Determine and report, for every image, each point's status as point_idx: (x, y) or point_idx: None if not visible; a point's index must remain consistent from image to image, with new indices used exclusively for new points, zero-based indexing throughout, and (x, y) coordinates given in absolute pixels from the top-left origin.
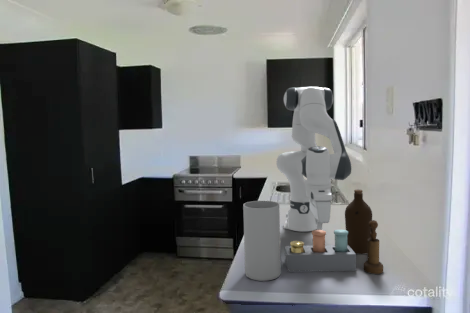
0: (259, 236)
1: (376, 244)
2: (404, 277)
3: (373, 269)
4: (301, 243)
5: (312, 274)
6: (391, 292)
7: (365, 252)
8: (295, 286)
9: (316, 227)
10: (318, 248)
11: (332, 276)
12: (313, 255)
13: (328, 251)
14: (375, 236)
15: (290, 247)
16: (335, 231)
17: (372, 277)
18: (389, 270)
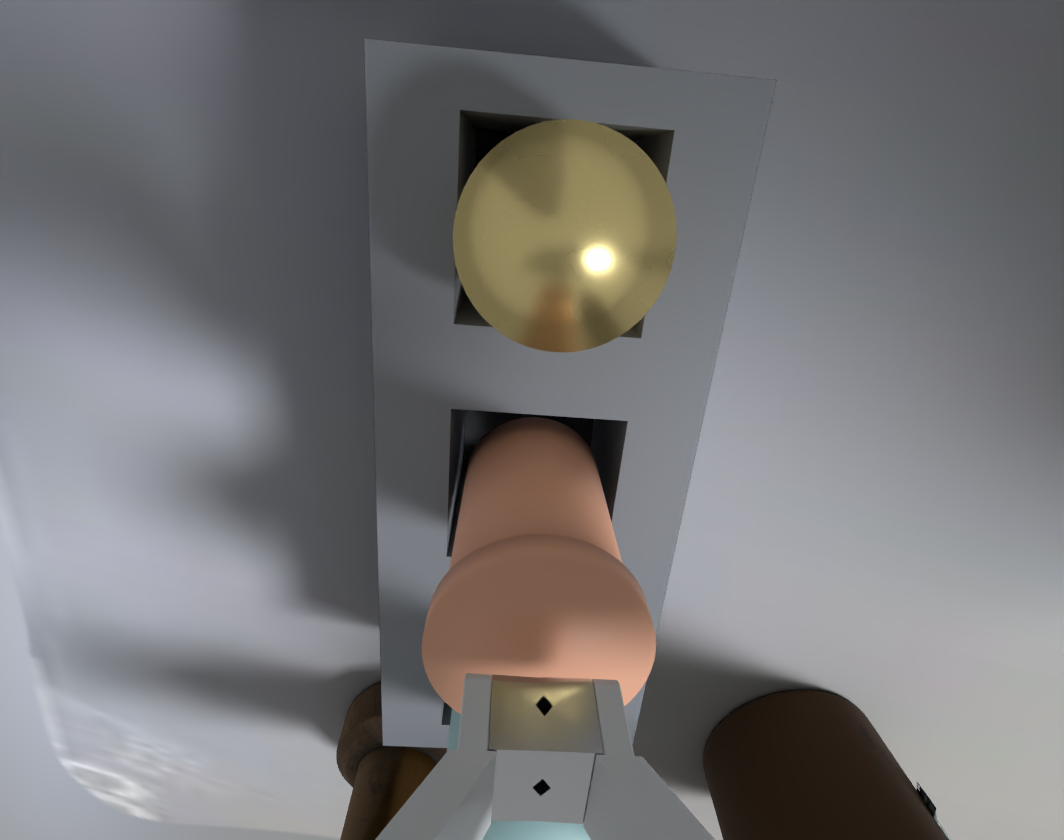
0: None
1: None
2: (303, 817)
3: (341, 733)
4: (528, 309)
5: (339, 315)
6: (78, 705)
7: (706, 774)
8: (41, 81)
9: (546, 688)
10: (464, 492)
11: (301, 461)
12: (374, 394)
13: None
14: None
15: (690, 158)
16: (520, 834)
17: (295, 685)
18: None
